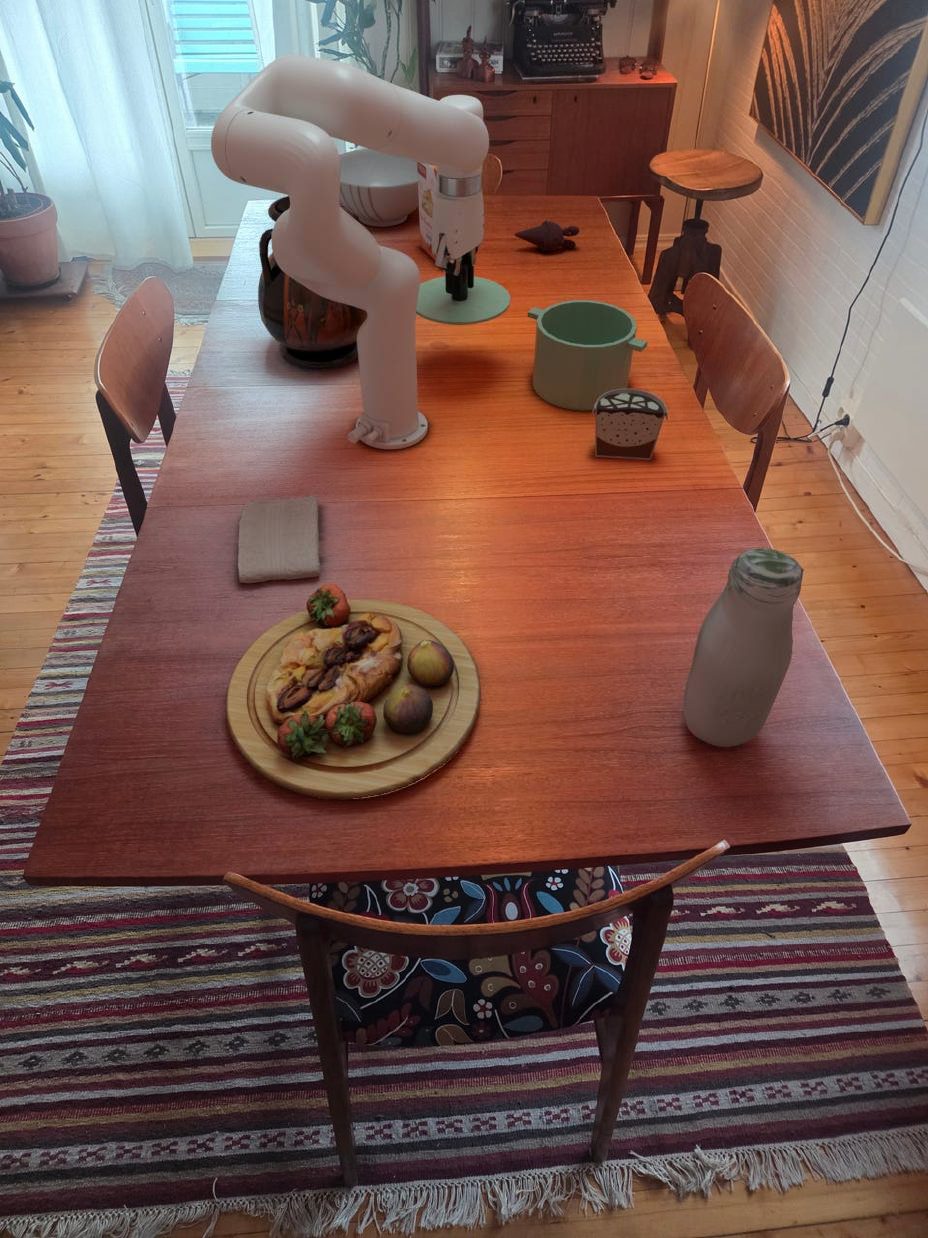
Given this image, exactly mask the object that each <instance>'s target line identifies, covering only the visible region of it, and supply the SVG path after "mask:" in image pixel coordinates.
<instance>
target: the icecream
mask: <svg viewBox="0 0 928 1238" xmlns="http://www.w3.org/2000/svg"><path fill="white" fill-rule="evenodd" d="M578 234H580V228H579V227H578V226H575V225H569V226H567V227H565V228H562V227H561V226H560V224H558V223H556V222H553V221H548V220H544V221H543V222H542V223H541V224H540V225H537V226H534V227H531V228H528V229H524V230H521V231H518V232H515V233H514V237H516V238H519V239H520V240H523V241H525V242H527V243H530V244H532V245H535V246H536V247H539V248H540V250H541V251H542V253H545V252H553V251H556V250H558V249H559V248H560V247H561V248H563V249H565V250H573V249H575V248H576V242H575V241H574V240H571V239H566V238H565V237H567V238H571V237H575V236H577V235H578Z"/></svg>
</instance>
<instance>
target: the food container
mask: <svg viewBox="0 0 928 1238" xmlns="http://www.w3.org/2000/svg"><path fill="white" fill-rule="evenodd" d="M595 409H596V410H595ZM594 413H595V427H594V429H595V433H594V435H595V436H594V438H595V439H594V440H595V441H594V442H595V446H594V447H595V449H594V457H597V458H609V459H610V458H611V459H625V460H627V459H628V460H643V461H652V457H653V454H654V451H655V448H656V445H657V442H658V439H659V435H660V432H661V429H662V426H663V423H664V420H665V419H666V421H668V420H669V419H668V418H669V417H668V413H669V412H668V409H667V406H666V404H665V402H664V401H663V400H662V399H661V398H660V397H658V396H657V395H655V394H653V393H651V392H648V391H645V390H641V389H638V388H627V389H616V390H612V391H609V392H606V393H604V394H603V395H601V396H600V397H599V399H598V400H597V402H596V403H595V406H594V408H593V410H591V416H593V415H594Z"/></svg>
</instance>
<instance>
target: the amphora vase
mask: <svg viewBox="0 0 928 1238" xmlns="http://www.w3.org/2000/svg"><path fill="white" fill-rule="evenodd" d="M339 206H340V207H341V208H342V209H343V207H342V204H341V203H340V202H339ZM289 208H290V198H289V196H288V195H286V196H283V197H281V198H279V199H276V200H275V201H274V202H272V203H271V204H270V205H269V207H268V209H267V214H268V217H269V218H270V219H271V221H273V222H275V223H276V221H277V219H278V218H279V217H280V215H281V214H283V213H284V212H285V211H287V210H288V209H289ZM272 231H273V228H269V229H266V230H265V231H263V233H262V234H261V236H260V238H259V242H258V250H259V251H258V252H259V253H258V254H259V259H260V264H261V265H260V266H261V273H260V276H259V281H258V286H257V304H258V311H259V315H260V319H261V322H262V324H263V325H264V327H265V329H266V330H267V332H268V333H269V334H270V335H271V337H272V338H274V340H275V341H276V342H278V343H279V345H278V351H279V352H278V353H279V355H280V357H281V358H282V359H283V361H285V362H286V363H288V364H289V365H291V366H292V367H296V368H298V369H302V370H308V371H328V370H334V369H337V368H342V367H344V366H346V365H348V364H351V363H352V362H354V361H355V360H357V358H358V349H357V334H358V331H359V328H360V327H361V325H362V324H363V323H364V321H365V320H366V319H367V312H366V311H365V310H363V309H360V308H357V307H354V306H351V305H347V304H343V303H340V302H336V301H333V300H330V299H327V298H324V297H322V296H320V295H318V294H316V293H315V292H313V291H311V290H310V289H308V288H307V287H305V286H304V285H302V284H300V283H299V282H297V281H296V280H294V279H293V278H291V277H290V276H288V275H287V274H286V273H284V272H283V271H282V270H281V268H280V267H279V265H278V264H277V262H276V260H275V257H274V254H273V251H272V252H271V253H270V255H269V245H270V241H271V239H272Z"/></svg>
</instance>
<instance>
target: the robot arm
mask: <svg viewBox="0 0 928 1238" xmlns="http://www.w3.org/2000/svg"><path fill="white" fill-rule="evenodd" d="M210 137H211V138H210V149H211V155H212V158H213V161H214V163H215V165H216V167H217V168H218V171H220V172H221V173H222V174H223V175H224V176H225V177H226V178H227V179H229V180H231V181H233V182H235V183H238V184H241V185H245V186H249V187H254V188H258V189H263V190H267V191H270V192H274V193H279V194H283V195H286V196H289V198H290V208H289V209H288V210H287V211H285V212H284V213H283V214H281V215H280V217H279V218H278V219H277V221H276V222H275V223H274V225H273V228H272V229H273V231H272V239H271V240H270V241H271V250H272V252H273V254H274V257H275V260H276V262H277V264H278V265H279V267H280V268H281V270H282V271H283V272H284V273H286V274H287V275H288V276H290V277H291V278H293V279H294V280H296V281H297V282H299V283H300V284H302V285H304V286H305V287H307V288H308V289H310V290H311V291H313V292H315V293H316V294H318V295H320V296H322V297H324V298H327V299H330V300H333V301H336V302H340V303H343V304H347V305H351V306H354V307H357V308H360V309H363V310H365V311H366V312H367V319H366V320H365V321H364V323H363V324H362V325H361V327H360V328H359V331H358V334H357V349H358V357H357V358H358V359H357V360H358V368H359V381H360V391H361V392H360V393H361V404H362V413H361V414H360V415H359V417H358V418H357V420H356V422H355V428H354V429H353V430H351V431H350V432H348V433H347V436H346V438H347V440H348V441H349V442H350V443H351V444H356V443H357V442H359V441H361V442H362V443H364V444H365V445H367V446H369V447H372V448H375V449H378V450H379V449H380V450H400V449H401V450H402V449H405V448H408V447H411V446H415V445H416V444H417V443H419V442H421V441H422V440H423V439H424V438H425V437H426V436H427V433H428V429H429V428H428V427H429V425H428V419H427V418H426V416H425V415H424V414H423V413H422V412H421V411H419V391H418V368H417V363H418V362H417V342H416V341H417V340H416V339H417V337H416V316H417V314H416V308H417V300H418V294H419V288H420V284H421V274H420V270H419V267H418V265H417V263H416V262H415V261H414V259H412V258H411V257H410V256H409V255H408V254H406V253H403V252H402V251H400V250H397V249H395V248H391V247H387V246H382V245H379V244H378V242H377V240H376V239H375V237H374V236H373V234H372V233H371V232H370V231H369V229H367V228H366V227H365V226H364V225H363V224H362V223H361V222H360V221H358V220H357V219H355V218H354V217H353V216H352V215H351V214H350V213H348V212H347V211H345V209H344V208H343V207H342V206H341V207H342V208H341V207H340V206H339V203H340V201H339V196H340V177H341V163H340V157H339V155H340V154H339V150H338V147H337V145H336V144H335V141H334V140H333V139H332V138H334V139H338V140H341V141H343V142H347V143H350V144H353V145H356V146H359V147H363V148H365V149H372V150H374V151H377V152H381V153H386V154H390V155H394V156H399V157H405V158H408V159H409V160H412V161H415V162H419V163H424V164H429V165H434V166H437V193H438V194H437V195H436V196H435V201H434V208H433V218H432V252H433V254H435V255H437V258H436V261H434V262H435V263H434V265H435V266H436V267H440V268H441V269H442V271H443V272H444V277H445V287H446V292H447V293H449V294H452V295H455V296H461V295H462V274H460V261H461V262H465V263H467V264H468V288H473V287H474V277H475V265H476V262H477V257H476V255H477V253H478V252H479V248H480V247H481V245H482V243H483V241H484V235H485V210H484V209H485V207H484V196H483V164H484V162H485V160H486V159H487V156H488V153H489V149H490V135H489V132H488V129H487V126H486V123H485V122H484V107H483V104H482V102H481V101H480V100H479V99H478V98H477V97H474V96H471V95H467V94H451V95H448V96H447V95H446V96H444V97H442V98H441V99H440V100H437V99H434V98H432V97H430V96H426V95H423V94H421V93H419V92H417V91H414V90H411V89H409V88H405V87H402V86H399V85H396V84H394V83H391V82H389V81H387V80H385V79H382V78H380V77H378V76H377V75H373V74H371V73H369V72H367V71H365V70H363V69H360V68H358V67H356V66H354V65H352V64H350V63H346V62H343V61H338V60H335V59H326V58H321V57H314V56H308V55H301V54H295V53H289V54H283V55H281V56H279V57H277V58H275V59H274V60H272V61H271V62H270V63H268V64H267V65H266V66H265V67H264V68H262V69H261V70H260V71H259V72H258V73H257V74H256V75H255V76H254V77H253V78H252V79H251V80H250V81H249V82H248V84H246V85H245V86H244V88H242V90H240V92H238V94H237V95H236V96H235V97H234V98H232V100H231V101H230V102H229V103H228V104H227V105H226V106H225V107H224V109H223V110H222V111H221V112H220V114H219V116H218V117H217V119H216V120H215V123H214V126H213V129H212V132H211V136H210ZM450 259H451V260H454V265H453V264H452V263H451V262H450Z"/></svg>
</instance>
